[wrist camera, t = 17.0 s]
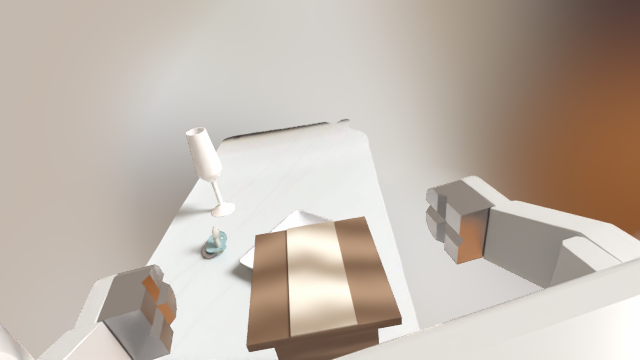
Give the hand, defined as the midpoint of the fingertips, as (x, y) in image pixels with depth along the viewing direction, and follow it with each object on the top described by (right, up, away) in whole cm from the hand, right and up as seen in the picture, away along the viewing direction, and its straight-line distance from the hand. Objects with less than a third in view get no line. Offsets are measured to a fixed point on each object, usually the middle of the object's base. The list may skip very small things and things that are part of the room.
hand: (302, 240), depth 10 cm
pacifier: (-25, -15, +71) cm, 77 cm away
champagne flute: (-27, -7, +85) cm, 89 cm away
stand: (+3, -30, +40) cm, 50 cm away
